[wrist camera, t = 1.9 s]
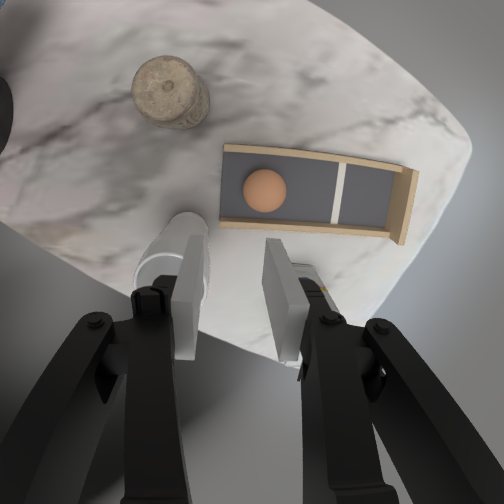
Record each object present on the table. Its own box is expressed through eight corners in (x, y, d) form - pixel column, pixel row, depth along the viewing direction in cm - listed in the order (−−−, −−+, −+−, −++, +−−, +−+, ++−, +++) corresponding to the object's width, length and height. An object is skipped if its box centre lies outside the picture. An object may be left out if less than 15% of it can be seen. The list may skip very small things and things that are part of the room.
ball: (240, 204, 38) (242, 216, 33) (243, 165, 36) (246, 170, 31) (280, 207, 39) (287, 219, 34) (284, 168, 37) (292, 174, 32)
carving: (187, 62, 31) (170, 35, 20) (223, 108, 34) (220, 99, 23) (145, 93, 32) (110, 81, 21) (180, 139, 35) (159, 145, 24)
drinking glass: (189, 194, 38) (167, 235, 24) (225, 231, 40) (224, 290, 26) (152, 228, 39) (117, 284, 25) (188, 263, 41) (172, 332, 27)
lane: (219, 221, 39) (218, 235, 35) (224, 143, 35) (223, 145, 31) (387, 232, 42) (403, 245, 37) (399, 165, 38) (419, 171, 33)
